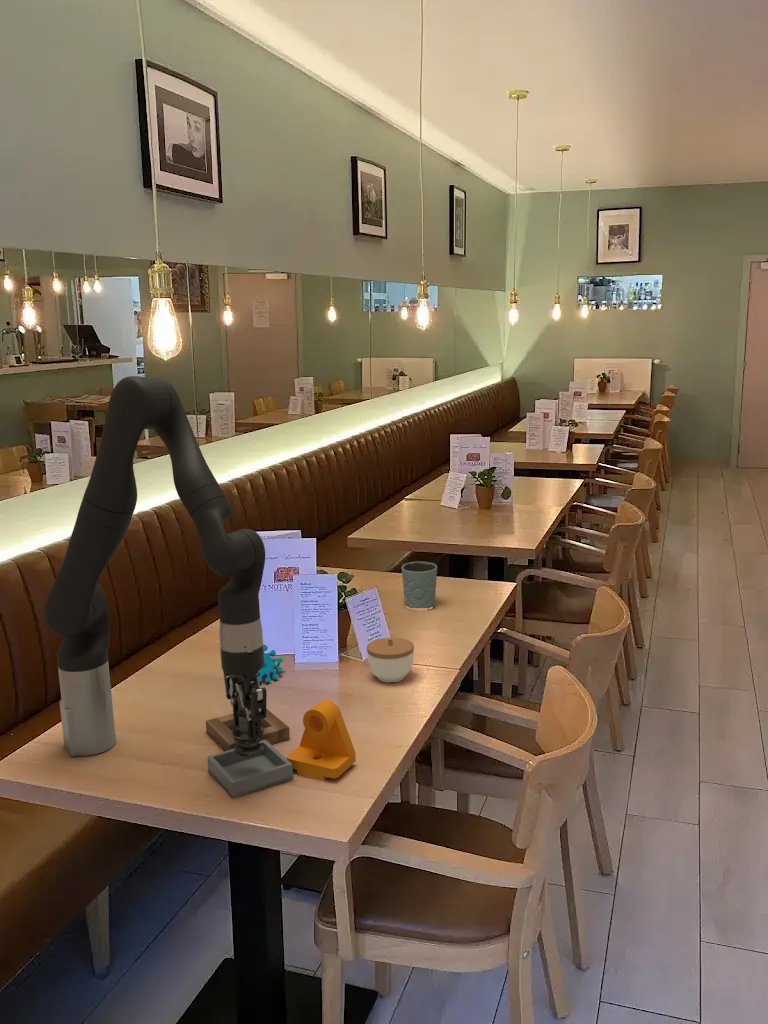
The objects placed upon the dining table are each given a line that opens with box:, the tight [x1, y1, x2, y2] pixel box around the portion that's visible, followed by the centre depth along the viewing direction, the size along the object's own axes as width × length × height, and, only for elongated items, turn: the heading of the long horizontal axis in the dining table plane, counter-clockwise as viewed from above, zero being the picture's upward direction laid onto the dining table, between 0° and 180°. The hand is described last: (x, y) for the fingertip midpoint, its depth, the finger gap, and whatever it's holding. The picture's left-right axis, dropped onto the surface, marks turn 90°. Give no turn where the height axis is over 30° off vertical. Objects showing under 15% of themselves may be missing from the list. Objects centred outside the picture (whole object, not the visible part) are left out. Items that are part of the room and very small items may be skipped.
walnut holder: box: [205, 708, 291, 752], centre depth 177 cm, size 12×12×2 cm
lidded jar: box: [366, 637, 415, 683], centre depth 203 cm, size 11×11×9 cm
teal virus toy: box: [257, 644, 285, 684], centre depth 206 cm, size 11×6×10 cm
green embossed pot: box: [401, 561, 438, 608], centre depth 252 cm, size 10×10×12 cm
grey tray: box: [206, 740, 294, 800], centre depth 161 cm, size 12×12×3 cm
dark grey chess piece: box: [231, 695, 264, 757], centre depth 159 cm, size 6×6×12 cm
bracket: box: [286, 699, 357, 781], centre depth 162 cm, size 11×7×12 cm, turn 63°
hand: (247, 730), depth 160 cm, fingers closed on dark grey chess piece, 6 cm apart
